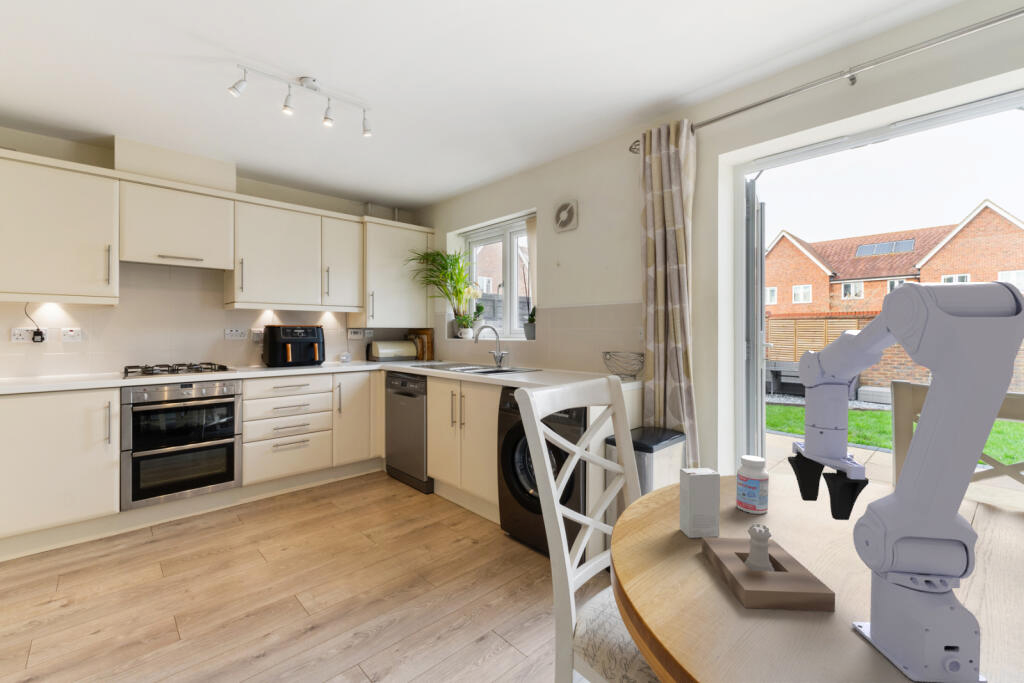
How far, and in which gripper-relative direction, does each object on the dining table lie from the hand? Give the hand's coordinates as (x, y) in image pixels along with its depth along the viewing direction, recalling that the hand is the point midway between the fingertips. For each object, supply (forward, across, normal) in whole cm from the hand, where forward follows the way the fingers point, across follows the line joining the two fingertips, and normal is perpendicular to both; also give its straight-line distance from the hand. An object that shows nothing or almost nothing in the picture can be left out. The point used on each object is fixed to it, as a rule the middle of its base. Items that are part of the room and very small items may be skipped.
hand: (824, 509), depth 72 cm
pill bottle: (+10, +24, -1) cm, 26 cm away
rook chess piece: (+10, -4, +12) cm, 16 cm away
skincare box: (+10, +11, +16) cm, 22 cm away
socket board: (+10, -4, +12) cm, 16 cm away
